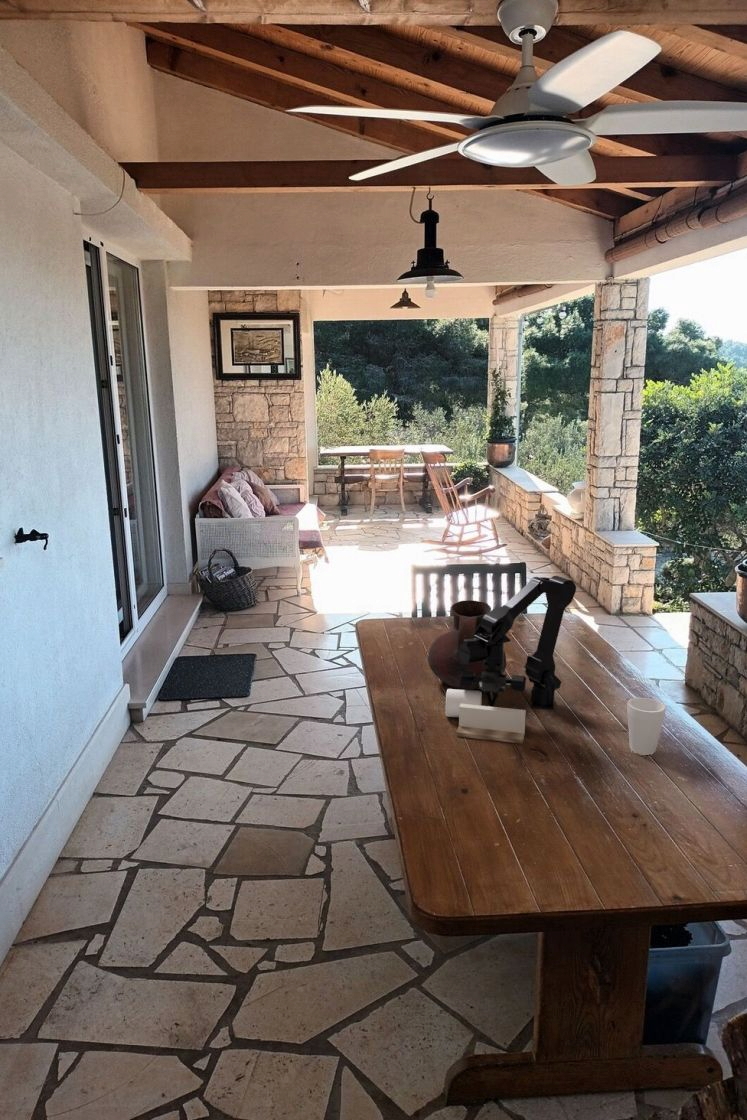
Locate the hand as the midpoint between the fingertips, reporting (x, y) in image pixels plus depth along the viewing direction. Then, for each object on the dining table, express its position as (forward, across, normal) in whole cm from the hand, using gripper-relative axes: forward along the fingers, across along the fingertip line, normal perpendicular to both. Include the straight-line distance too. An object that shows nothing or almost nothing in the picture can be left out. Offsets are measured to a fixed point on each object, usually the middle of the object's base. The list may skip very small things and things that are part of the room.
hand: (491, 708), depth 226 cm
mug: (+3, -8, 0) cm, 9 cm away
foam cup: (+3, +41, -11) cm, 43 cm away
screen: (+3, +1, -12) cm, 12 cm away
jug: (+3, -11, +24) cm, 27 cm away
